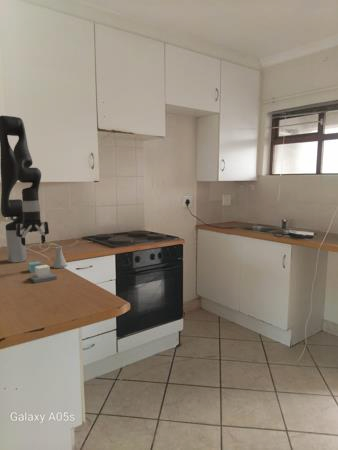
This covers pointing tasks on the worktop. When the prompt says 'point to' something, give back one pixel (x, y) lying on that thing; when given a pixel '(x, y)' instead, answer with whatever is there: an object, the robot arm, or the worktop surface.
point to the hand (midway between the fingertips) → (33, 244)
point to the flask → (59, 259)
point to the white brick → (42, 271)
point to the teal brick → (33, 266)
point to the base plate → (42, 278)
